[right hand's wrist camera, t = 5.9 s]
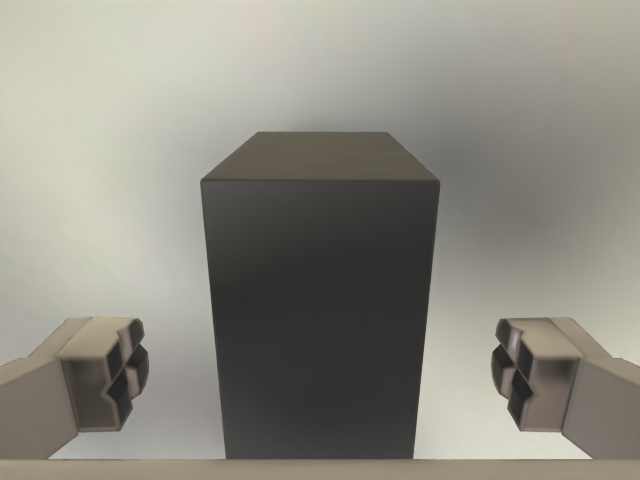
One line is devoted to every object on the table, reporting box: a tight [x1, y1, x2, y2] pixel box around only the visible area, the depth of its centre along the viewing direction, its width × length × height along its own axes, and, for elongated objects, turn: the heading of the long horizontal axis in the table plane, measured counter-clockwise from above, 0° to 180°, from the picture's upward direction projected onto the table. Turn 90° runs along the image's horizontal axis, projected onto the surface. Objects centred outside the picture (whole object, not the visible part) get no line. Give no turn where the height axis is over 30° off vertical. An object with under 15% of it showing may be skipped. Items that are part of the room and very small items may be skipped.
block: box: [200, 132, 440, 459], centre depth 19 cm, size 28×5×9 cm, turn 0°
